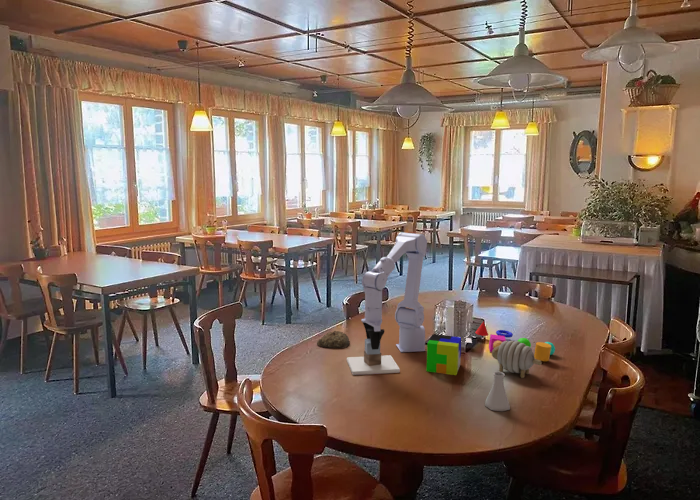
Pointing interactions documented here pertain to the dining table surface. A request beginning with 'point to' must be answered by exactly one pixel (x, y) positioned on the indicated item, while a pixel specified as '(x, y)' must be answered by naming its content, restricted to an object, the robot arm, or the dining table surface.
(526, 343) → the shape set
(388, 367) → the baseplate
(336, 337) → the bread roll
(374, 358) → the walnut block
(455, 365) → the puzzle toy
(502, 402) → the flask
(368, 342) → the slate block
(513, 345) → the toy sheep
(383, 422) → the dining table surface
